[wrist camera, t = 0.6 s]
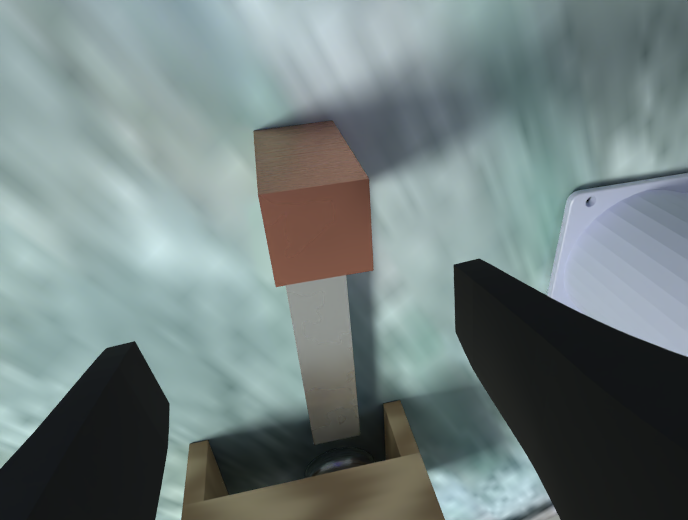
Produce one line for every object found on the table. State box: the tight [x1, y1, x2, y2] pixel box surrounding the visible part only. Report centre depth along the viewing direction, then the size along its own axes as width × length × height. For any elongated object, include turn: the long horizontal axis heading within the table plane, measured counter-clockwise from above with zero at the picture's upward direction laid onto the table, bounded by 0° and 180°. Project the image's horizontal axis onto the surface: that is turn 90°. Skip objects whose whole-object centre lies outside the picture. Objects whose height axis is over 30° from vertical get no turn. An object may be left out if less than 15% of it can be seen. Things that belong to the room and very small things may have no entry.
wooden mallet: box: [254, 121, 373, 445], centre depth 19 cm, size 3×17×6 cm, turn 4°
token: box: [305, 447, 375, 478], centre depth 29 cm, size 4×4×2 cm
